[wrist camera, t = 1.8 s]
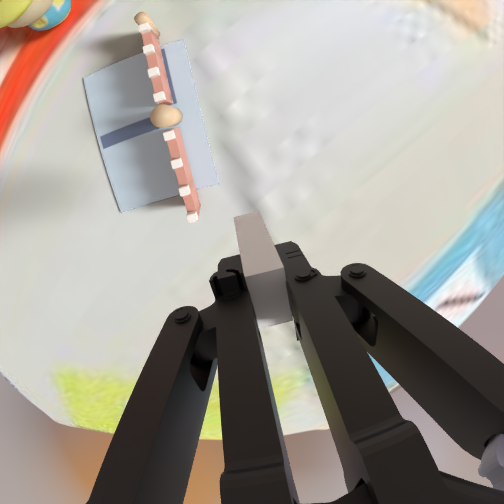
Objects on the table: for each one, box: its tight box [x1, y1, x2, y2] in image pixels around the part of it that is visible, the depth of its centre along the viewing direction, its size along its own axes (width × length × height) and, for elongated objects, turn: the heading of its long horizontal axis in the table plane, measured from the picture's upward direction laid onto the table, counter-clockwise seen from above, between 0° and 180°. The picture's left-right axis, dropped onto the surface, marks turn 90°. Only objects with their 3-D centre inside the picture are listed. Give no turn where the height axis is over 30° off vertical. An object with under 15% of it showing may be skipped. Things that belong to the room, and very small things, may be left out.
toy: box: [0, 0, 71, 31], centre depth 13 cm, size 8×9×15 cm
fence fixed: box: [134, 12, 183, 128], centre depth 24 cm, size 14×2×8 cm, turn 13°
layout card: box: [83, 39, 219, 213], centre depth 30 cm, size 20×14×1 cm
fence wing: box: [163, 128, 201, 223], centre depth 30 cm, size 10×1×6 cm, turn 13°
